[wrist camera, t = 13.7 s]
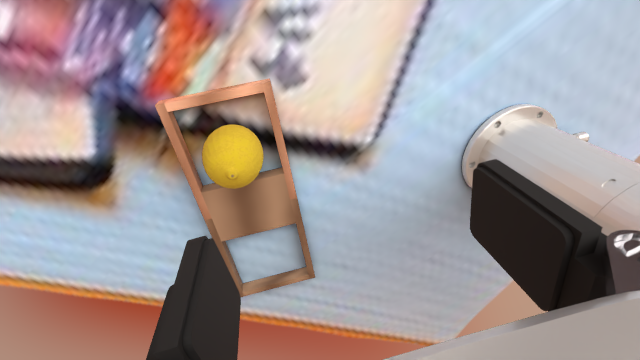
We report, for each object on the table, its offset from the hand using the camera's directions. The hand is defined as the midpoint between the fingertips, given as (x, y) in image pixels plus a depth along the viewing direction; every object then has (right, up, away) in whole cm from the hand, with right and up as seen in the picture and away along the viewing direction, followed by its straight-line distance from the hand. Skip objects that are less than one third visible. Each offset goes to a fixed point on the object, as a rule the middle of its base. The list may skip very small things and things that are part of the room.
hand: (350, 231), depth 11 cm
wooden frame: (-9, -1, +26) cm, 28 cm away
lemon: (-10, +6, +22) cm, 25 cm away
